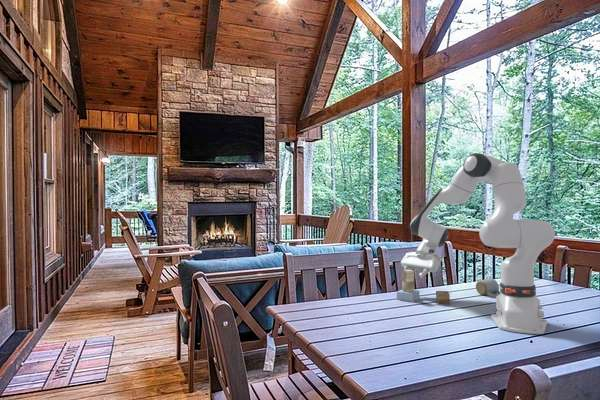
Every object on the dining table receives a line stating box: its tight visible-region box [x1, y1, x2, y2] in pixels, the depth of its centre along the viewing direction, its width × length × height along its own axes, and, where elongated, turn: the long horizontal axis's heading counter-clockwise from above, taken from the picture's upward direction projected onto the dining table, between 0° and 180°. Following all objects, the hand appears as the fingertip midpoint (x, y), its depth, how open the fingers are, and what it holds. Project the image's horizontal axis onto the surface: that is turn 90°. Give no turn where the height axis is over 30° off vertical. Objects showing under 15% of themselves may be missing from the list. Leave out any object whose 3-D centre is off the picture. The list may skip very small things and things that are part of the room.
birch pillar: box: [401, 268, 415, 292], centre depth 181 cm, size 4×4×10 cm
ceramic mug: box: [475, 277, 501, 298], centre depth 184 cm, size 11×8×8 cm
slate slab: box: [396, 289, 420, 303], centre depth 181 cm, size 8×8×4 cm
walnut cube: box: [435, 290, 451, 306], centre depth 172 cm, size 5×5×5 cm
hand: (412, 275), depth 183 cm, fingers open, 8 cm apart
